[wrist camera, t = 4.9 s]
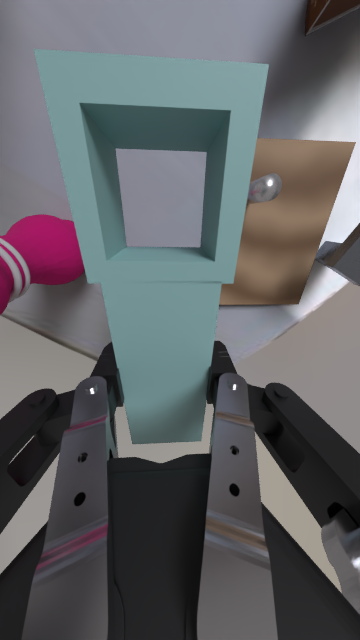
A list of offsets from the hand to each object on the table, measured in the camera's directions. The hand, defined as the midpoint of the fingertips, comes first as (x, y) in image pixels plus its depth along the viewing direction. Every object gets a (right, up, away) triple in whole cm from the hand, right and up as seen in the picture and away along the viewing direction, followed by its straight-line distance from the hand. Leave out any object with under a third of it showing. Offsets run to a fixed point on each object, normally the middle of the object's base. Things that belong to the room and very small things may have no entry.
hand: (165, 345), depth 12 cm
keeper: (+20, +12, +14) cm, 27 cm away
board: (+12, +13, +13) cm, 22 cm away
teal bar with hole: (0, +2, -1) cm, 3 cm away
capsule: (+9, +17, +11) cm, 22 cm away
